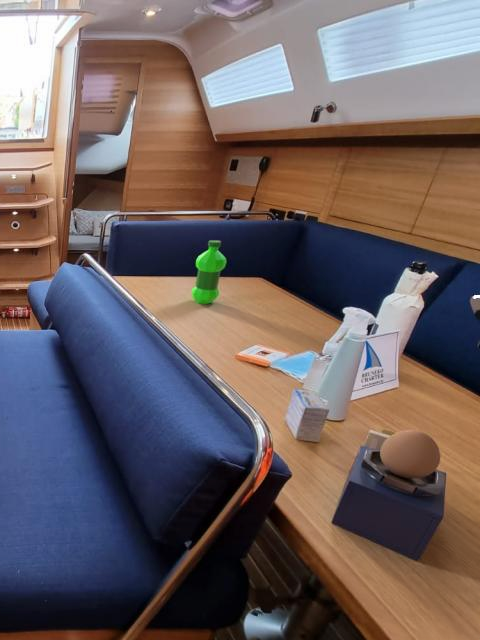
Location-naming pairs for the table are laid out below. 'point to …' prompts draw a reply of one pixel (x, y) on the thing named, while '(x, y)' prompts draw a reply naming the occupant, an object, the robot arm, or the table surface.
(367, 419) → the table surface
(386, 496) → the navy box with tray
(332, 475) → the table surface
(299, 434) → the medicine box
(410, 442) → the egg
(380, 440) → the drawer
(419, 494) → the dark gray octagonal tray
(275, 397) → the table surface
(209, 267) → the plastic bottle
